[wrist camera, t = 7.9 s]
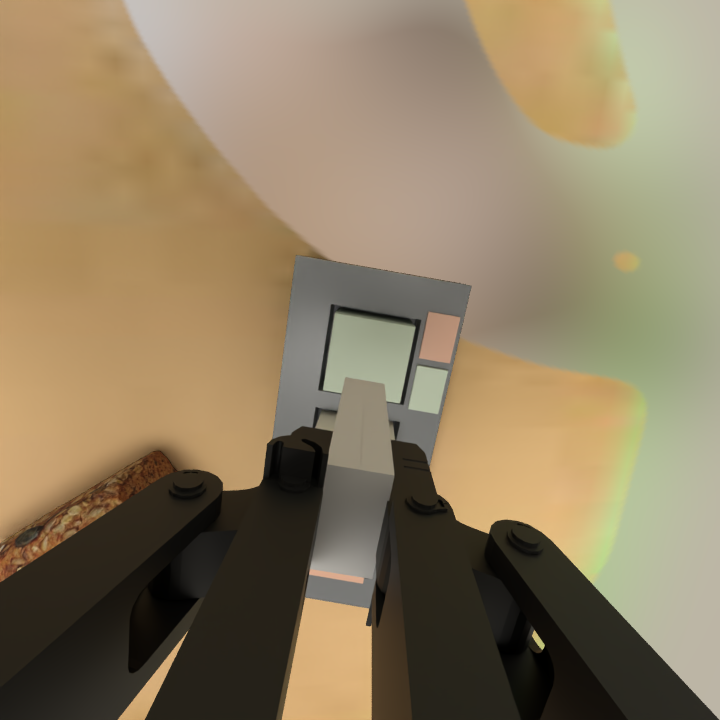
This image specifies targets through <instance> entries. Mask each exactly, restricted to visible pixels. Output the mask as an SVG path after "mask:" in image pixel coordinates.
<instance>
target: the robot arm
mask: <svg viewBox="0 0 720 720" xmlns="http://www.w3.org/2000/svg"><path fill="white" fill-rule="evenodd" d="M375 565H376V581H375V585H374V590H373V595H372V599H371V604H370V608H369V613H368V618H367V622H366V626H371V624H372V720H719V719H718V718H717V717H716V716H715V715H714V714H713V713H712V712H711V710H710V709H709V708H708V707H707V706H706V705H705V704H704V703H703V702H702V701H701V700H700V699H699V698H698V697H697V696H696V694H695V693H694V692H693V691H692V690H691V689H690V688H689V687H688V686H687V685H686V684H685V683H684V682H683V681H682V679H680V677H679V676H678V675H677V674H676V673H675V672H674V671H673V670H672V669H671V668H670V667H669V666H668V665H667V664H666V662H665V661H664V660H663V659H662V658H661V657H660V656H659V655H658V654H657V653H656V652H655V651H654V650H653V649H652V647H651V646H650V645H648V643H647V642H646V641H645V640H644V639H643V638H642V637H641V636H640V635H639V634H638V633H637V632H636V630H635V629H634V628H633V627H632V626H631V625H630V624H629V623H628V622H627V621H626V620H625V619H624V618H623V617H622V615H621V614H620V613H619V612H618V611H617V610H616V609H615V608H614V607H613V606H612V605H611V604H610V603H609V602H608V600H606V598H605V597H604V596H603V595H602V594H601V593H600V592H599V591H598V590H597V589H596V588H595V587H594V586H593V584H592V583H591V582H590V581H589V580H588V579H587V578H586V577H585V576H584V575H583V574H582V573H581V572H580V571H579V570H578V568H577V567H576V566H575V565H574V564H573V563H572V562H571V561H570V560H569V559H568V558H567V557H566V556H565V555H564V554H563V552H562V551H561V550H560V549H559V548H558V547H557V546H556V545H555V544H554V543H553V542H552V541H551V540H550V539H549V538H548V537H546V536H545V535H544V534H543V533H542V532H540V531H538V530H536V529H535V528H533V527H532V526H530V525H528V524H525V523H523V522H519V521H512V520H500V521H496V522H495V523H494V524H493V525H491V528H490V532H489V534H487V533H485V532H482V531H479V530H477V529H474V528H471V527H469V526H467V525H464V524H462V523H460V522H459V521H457V520H456V518H455V515H454V512H453V509H452V508H451V506H450V504H449V503H448V502H447V501H446V500H445V499H444V498H442V497H441V496H440V495H438V494H437V492H436V489H435V485H434V482H433V478H432V475H431V472H430V468H429V464H428V461H427V457H426V454H425V452H424V451H423V450H422V449H421V448H420V447H419V446H418V445H417V444H414V443H408V442H402V441H396V440H391V439H390V429H389V420H388V411H387V402H386V393H385V384H383V383H377V382H371V381H365V380H359V379H354V378H348V377H345V380H344V385H343V389H342V394H341V399H340V403H339V408H338V412H337V417H336V421H335V426H334V430H333V431H329V430H323V429H317V428H312V427H306V426H301V427H300V428H298V429H296V430H295V431H293V432H292V433H291V435H286V436H280V437H277V438H274V439H272V440H271V441H270V442H269V443H268V444H267V450H266V459H265V467H264V475H263V480H262V482H261V484H260V486H258V487H255V488H251V489H246V490H235V491H223V483H222V481H221V480H220V479H219V478H218V476H216V475H214V474H212V473H210V472H206V471H200V470H182V471H178V472H173V473H170V474H168V475H166V476H164V477H161V478H160V479H158V480H157V481H155V482H153V483H152V484H150V485H149V486H147V487H146V488H144V489H143V490H141V491H140V492H138V493H137V494H135V495H133V496H132V497H130V498H129V499H127V500H126V501H124V502H123V503H121V504H120V505H118V506H117V507H115V508H114V509H112V510H110V511H109V512H107V513H106V514H104V515H103V516H101V517H100V518H98V519H97V520H95V521H94V522H92V523H90V524H89V525H87V526H86V527H84V528H83V529H81V530H80V531H78V532H77V533H75V534H74V535H72V536H71V537H69V538H67V539H66V540H64V541H63V542H61V543H60V544H58V545H57V546H55V547H54V548H52V549H51V550H49V551H47V552H46V553H44V554H43V555H41V556H40V557H38V558H37V559H35V560H34V561H32V562H31V563H29V564H28V565H26V566H24V567H23V568H21V569H20V570H18V571H17V572H15V573H14V574H12V575H11V576H9V577H8V578H6V579H5V580H3V581H1V582H0V720H118V718H119V717H120V716H121V715H122V713H123V712H124V711H125V709H126V708H127V707H128V706H129V704H130V703H131V702H132V701H133V699H134V698H135V697H136V696H137V694H138V693H139V692H140V691H141V689H142V688H143V687H144V686H145V684H146V683H147V682H148V680H149V679H150V678H151V677H152V675H153V674H154V673H155V672H156V670H157V669H158V668H159V667H160V665H161V664H162V663H163V662H164V660H165V659H166V658H167V656H168V655H169V654H170V653H171V651H172V650H173V649H174V648H175V646H176V645H177V644H178V643H179V641H180V640H181V639H182V638H183V636H184V635H185V634H186V633H187V631H188V630H189V631H188V633H187V635H186V637H185V639H184V641H183V643H182V645H181V647H180V649H179V651H178V653H177V655H176V657H175V659H174V661H173V663H172V665H171V667H170V669H169V672H168V674H167V676H166V678H165V680H164V682H163V684H162V686H161V688H160V690H159V692H158V694H157V696H156V698H155V700H154V702H153V704H152V706H151V708H150V710H149V712H148V714H147V716H146V718H145V720H282V714H283V709H284V704H285V699H286V694H287V688H288V683H289V678H290V673H291V668H292V662H293V657H294V652H295V647H296V642H297V636H298V631H299V626H300V621H301V616H302V610H303V605H304V600H305V595H306V590H307V584H308V578H309V572H310V569H313V570H319V571H325V572H331V573H337V574H343V575H350V576H356V577H362V578H368V579H373V574H374V570H375ZM534 630H535V631H536V633H537V634H538V636H539V637H540V639H541V640H542V642H543V643H544V644H545V647H544V649H543V650H541V648H540V647H539V646H538V645H537V643H536V642H535V640H534V639H533V637H532V634H533V631H534Z"/></svg>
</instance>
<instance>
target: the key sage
mask: <svg viewBox="0 0 720 720" xmlns="http://www.w3.org/2000/svg"><path fill="white" fill-rule="evenodd" d="M415 328H416V327H415V326H414V324H413V323H412V321H411V320H410V319H404V318H398V317H392V316H387V315H381V314H375V313H369V312H364V311H358V310H352V309H347V308H341V307H340V308H339V309H338V310H337V311H336V312H335V316H334V322H333V329H332V335H331V341H330V348H329V354H328V361H327V367H326V374H325V380H324V387H323V390H325V391H330V392H336V393H342V389H343V385H344V380H345V377H348V378H354V379H359V380H365V381H371V382H377V383H383V384H385V393H386V401H388V402H394V403H400V401H401V396H402V391H403V386H404V381H405V376H406V371H407V366H408V362H409V357H410V352H411V347H412V342H413V337H414V332H415Z"/></svg>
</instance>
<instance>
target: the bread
mask: <svg viewBox="0 0 720 720" xmlns="http://www.w3.org/2000/svg"><path fill="white" fill-rule="evenodd" d="M173 472H177V471H176V470H175V469H174V468H173V467H172V465H171V463H170V462H169V460H168V458H167V457H165V456H164V455H163V454H162V452H161V451H154V452H152V453H150V454H149V455H147V456H145V457H143V458H141V459H139V460H138V461H136V462H134V463H132V464H131V465H129V466H127V467H126V468H124V469H122V470H120V471H119V472H117V473H115V474H114V475H112V476H110V477H109V478H107V479H106V480H105V481H102V482H100V483H99V484H97V485H96V486H94V487H92V488H90V489H89V490H87V491H85V492H84V493H82V494H81V495H79V496H78V497H76V498H74V499H73V500H71V501H69V502H67V503H66V504H64V505H62V506H60V507H58V508H56V509H55V510H53V511H52V512H50V513H48V514H46V515H45V516H43V517H42V518H40V519H39V520H37V521H35V522H34V523H32V524H31V525H29V526H27V527H25V528H24V529H22V530H20V531H19V532H18V533H16V534H15V535H13V536H11V537H9V538H8V539H6V540H4V541H3V542H2V543H0V582H1V581H3V580H5V579H6V578H8V577H9V576H11V575H12V574H14V573H15V572H17V571H18V570H20V569H21V568H23V567H24V566H26V565H28V564H29V563H31V562H32V561H34V560H35V559H37V558H38V557H40V556H41V555H43V554H44V553H46V552H47V551H49V550H51V549H52V548H54V547H55V546H57V545H58V544H60V543H61V542H63V541H64V540H66V539H67V538H69V537H71V536H72V535H74V534H75V533H77V532H78V531H80V530H81V529H83V528H84V527H86V526H87V525H89V524H90V523H92V522H94V521H95V520H97V519H98V518H100V517H101V516H103V515H104V514H106V513H107V512H109V511H110V510H112V509H114V508H115V507H117V506H118V505H120V504H121V503H123V502H124V501H126V500H127V499H129V498H130V497H132V496H133V495H135V494H137V493H138V492H140V491H141V490H143V489H144V488H146V487H147V486H149V485H150V484H152V483H153V482H155V481H157V480H158V479H160V478H161V477H164V476H166V475H168V474H170V473H173Z"/></svg>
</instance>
